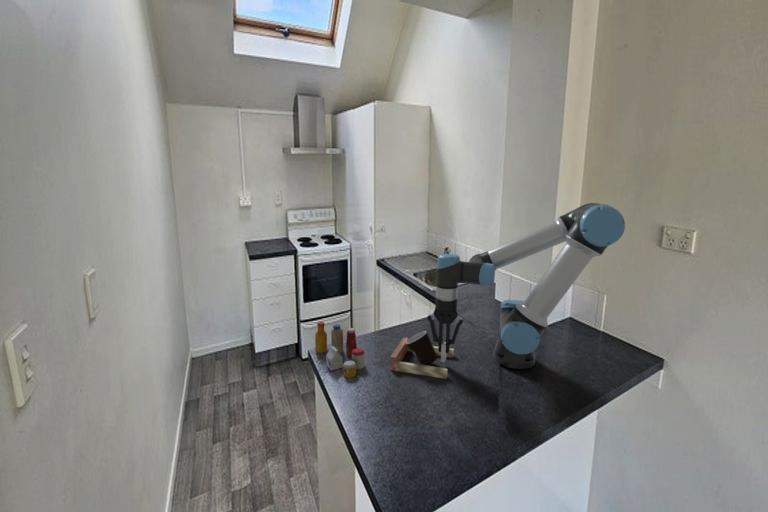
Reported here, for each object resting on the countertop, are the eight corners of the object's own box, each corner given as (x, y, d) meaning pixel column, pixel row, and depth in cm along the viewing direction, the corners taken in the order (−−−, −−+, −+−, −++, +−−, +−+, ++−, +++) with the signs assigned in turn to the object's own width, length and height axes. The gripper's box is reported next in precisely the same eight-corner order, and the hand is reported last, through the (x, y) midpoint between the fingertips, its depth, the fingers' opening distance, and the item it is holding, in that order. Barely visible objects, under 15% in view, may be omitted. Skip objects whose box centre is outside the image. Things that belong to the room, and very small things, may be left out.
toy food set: (312, 351, 148) (311, 322, 145) (342, 344, 154) (341, 316, 152) (340, 381, 125) (340, 347, 123) (373, 371, 132) (373, 339, 129)
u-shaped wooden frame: (453, 355, 143) (454, 343, 142) (446, 378, 126) (447, 365, 125) (403, 348, 149) (403, 337, 148) (390, 369, 132) (390, 356, 131)
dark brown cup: (439, 360, 130) (425, 336, 130) (418, 370, 132) (404, 346, 132) (441, 349, 141) (428, 326, 141) (421, 358, 143) (408, 336, 143)
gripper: (466, 296, 132) (462, 358, 137) (430, 293, 136) (427, 353, 141) (464, 303, 125) (460, 367, 130) (426, 299, 129) (423, 362, 133)
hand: (443, 360), depth 135 cm, fingers closed
